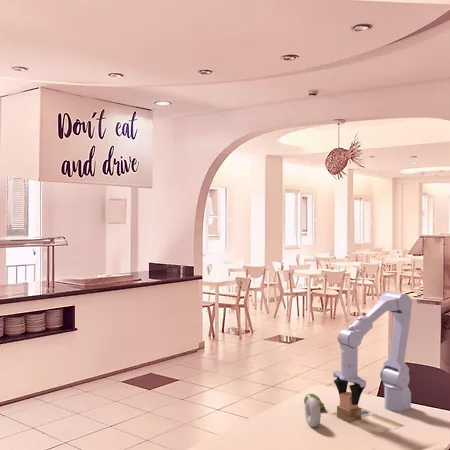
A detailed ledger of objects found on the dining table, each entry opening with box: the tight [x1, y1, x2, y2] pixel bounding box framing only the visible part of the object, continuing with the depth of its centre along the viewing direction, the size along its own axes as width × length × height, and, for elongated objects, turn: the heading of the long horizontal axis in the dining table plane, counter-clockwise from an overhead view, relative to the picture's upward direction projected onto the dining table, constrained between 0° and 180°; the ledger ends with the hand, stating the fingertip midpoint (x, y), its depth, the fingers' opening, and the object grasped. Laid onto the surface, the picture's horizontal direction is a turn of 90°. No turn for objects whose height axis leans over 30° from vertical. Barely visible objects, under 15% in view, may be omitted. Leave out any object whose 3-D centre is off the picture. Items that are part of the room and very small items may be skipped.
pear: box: [303, 393, 326, 412], centre depth 209 cm, size 6×5×10 cm
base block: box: [336, 404, 362, 423], centre depth 197 cm, size 6×6×4 cm
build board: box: [328, 407, 405, 435], centre depth 196 cm, size 15×22×1 cm
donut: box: [304, 397, 322, 428], centre depth 191 cm, size 10×4×10 cm, turn 8°
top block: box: [339, 391, 359, 410], centre depth 197 cm, size 4×4×4 cm
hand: (349, 401), depth 197 cm, fingers open, 6 cm apart
